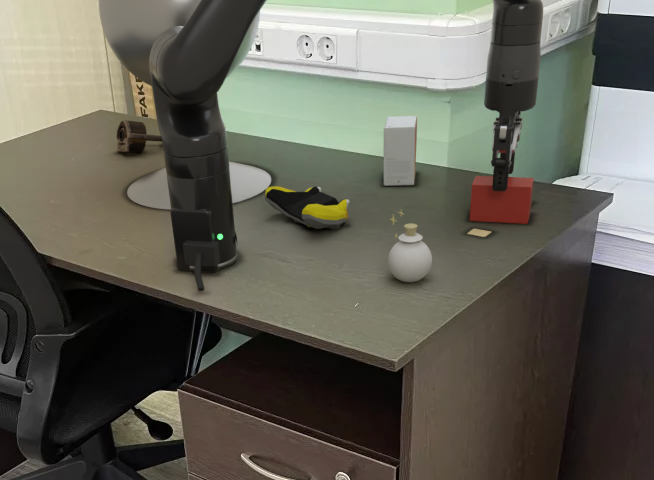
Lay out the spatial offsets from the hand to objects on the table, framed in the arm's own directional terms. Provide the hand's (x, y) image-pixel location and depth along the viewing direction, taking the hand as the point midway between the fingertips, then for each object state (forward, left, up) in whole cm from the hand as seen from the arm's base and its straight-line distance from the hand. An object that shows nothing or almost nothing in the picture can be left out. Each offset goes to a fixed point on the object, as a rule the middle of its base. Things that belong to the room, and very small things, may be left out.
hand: (502, 181), depth 136 cm
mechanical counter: (+29, +78, -6) cm, 83 cm away
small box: (+17, +20, -6) cm, 27 cm away
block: (0, 0, -6) cm, 6 cm away
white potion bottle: (-26, +10, -6) cm, 28 cm away
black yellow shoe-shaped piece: (-7, +30, -6) cm, 31 cm away
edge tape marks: (0, 0, -6) cm, 6 cm away
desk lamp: (+9, +57, -6) cm, 58 cm away
